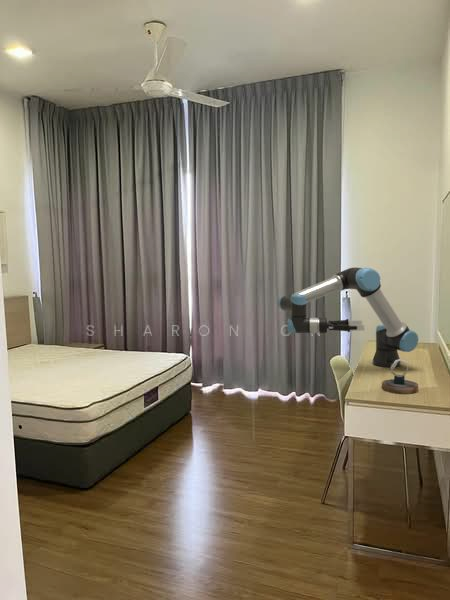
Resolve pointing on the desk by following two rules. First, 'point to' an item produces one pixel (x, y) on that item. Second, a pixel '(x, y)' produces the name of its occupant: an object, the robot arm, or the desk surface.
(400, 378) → the watch
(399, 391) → the plinth
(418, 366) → the desk surface
